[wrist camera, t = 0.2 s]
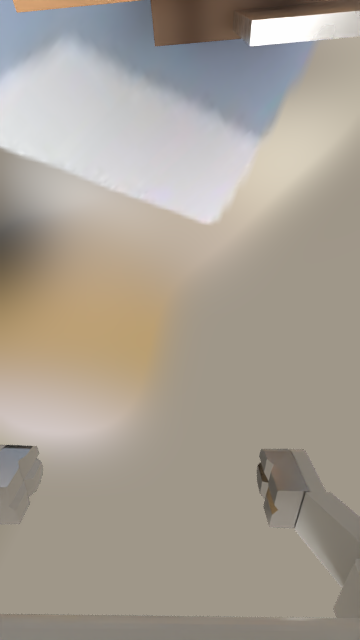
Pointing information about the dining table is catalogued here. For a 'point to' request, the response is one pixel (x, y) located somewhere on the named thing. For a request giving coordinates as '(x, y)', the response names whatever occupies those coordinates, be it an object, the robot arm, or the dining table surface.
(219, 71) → the dining table surface
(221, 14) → the shelf
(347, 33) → the bookend
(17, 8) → the orange rectangular bar
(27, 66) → the dining table surface
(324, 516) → the robot arm
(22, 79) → the dining table surface
